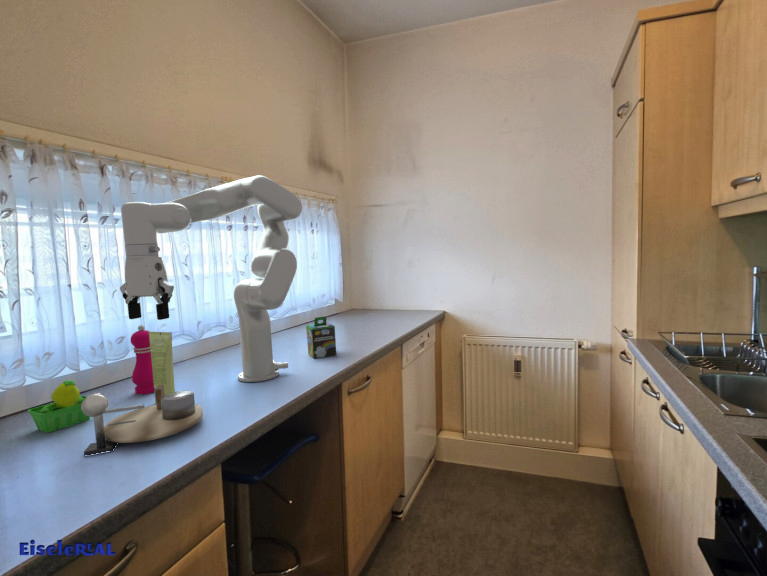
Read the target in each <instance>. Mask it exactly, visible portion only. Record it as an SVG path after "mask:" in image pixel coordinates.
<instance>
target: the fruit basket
mask: <svg viewBox="0 0 767 576" xmlns="http://www.w3.org/2000/svg"><path fill="white" fill-rule="evenodd" d="M87 397H88V396H85V395H81V394H80V389H79V388H78V387H77V386H76V383H75V381H74V380H69V379H68V380H64V381H63V382H62V383H60V384H59V385H58V386H57V387H56V388H55V389H54V390H53V391H52V393H51V400H52V401H53V402H51V403H48V404H44V405H41V406H37V407H33V408H29V409H27V411H28V414H29V415H30V416H31V418H32V421H33V422H34V424H35V426H36V428H37V430H40V431H41V432H45V433H46V434H49V433H52V432H55V431H57V430H62V429H64V428H68V427H70V426H73V425H77V424H80V423H84V422H86V421H89V420H90V419H91V417H89V416H87V415H85V414H84V413H83V412H82V410H81V404H82V402H83V401H84V400H85V399H86V398H87Z"/></svg>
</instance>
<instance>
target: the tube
mask: <svg viewBox="0 0 767 576" xmlns="http://www.w3.org/2000/svg"><path fill="white" fill-rule="evenodd" d="M149 338H150V348H151V358H152V369H153V381H154V393H153V394H154V402H155V405H157V403H156V393H155V389H156V388H157V386H158V385H162V384H164V394H165V395H166V394H169V393H173V392H176V391H175V390H176V388H175V376H174V375H175V373H174V358H173V356H174V355H173V333H172V331H150V332H149Z"/></svg>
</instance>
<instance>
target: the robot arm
mask: <svg viewBox="0 0 767 576" xmlns="http://www.w3.org/2000/svg"><path fill="white" fill-rule="evenodd" d="M253 206H257V214H258V216H259V220H260V222H261V224H262V228H263V234H262V237H261V240H260V243H259V245H258V247H257V249H256V251H255V253H254V255H253V257H252V261H251V264H250V267H251V271H252V273H253V274H254V275H255V276H256V277H259V278H247V279H246V278H245V279H243V280H241V281H239V282H238V284H236V286H235V288H234V292H233V299H234V302H235V303H234V304H235V308H236V310H237V316H238V322H239V323H238V324H239V341H240V351H241V353H240V354H241V364H242V372H240V373H238V375H237V378H238V381H241V382H243V383H244V382H245V383H258V382H264V381H268V380H272V379H275V378H276V377H278V376H279V374H280V371H279V370H280V369H281V370H282V369H289V363H288V361H287V362H284V361H279V362H276V361H275V360H274V355H273V342H272V341H273V340H272V326H271V325H272V324H271V318H270V317H271V316H270V314H269V312H268V311H273V310H275V309H279V308H280V307H281V306H282V304H284V301H285V300H286V298H287V296H288V293H289V290H290V288H291V285H292V283H293V280H294V277H295V276H296V273H297V269H298V268H297V267H298V264H297V263H298V262H297V261H298V260H297V257H296V255H295V253H294V252H293V251H291V250H290V249H288V245H289V241H290V236H289V231H288V229H287V226H286V224H285V222H288V221H293V220H296V219H298V218H299V217H300V215H301V214H302V211H303V205H302V202H301V200H300V198H299V197H298V196H297V195H296V194H295V193H294V192H292V191H290V190H289V189H287V188H286V187H285V186H282V185H280V184H279V183H278V182H276V181H274V180H273V179H270V178H268V177H266V176H264V175H261V174H258V175H255V176H254V175H253V176H250V177H244V178H241V179H236V180H234V181H231V182H227V183H223V184H220V185H216V186H213V187H210V188H206V189H202V190H201V191H198V192H195V193H193V194H190V195H187V196H184V197H179V198H177V199H174V200H170V201H167V202H162V203H149V202H144V201H134V202H133V201H132V202H131V201H130V202H124V203H123V204H122V205H121V207H120V208H121V219H122V222H121V223H122V231H123V239H124V252H125V262H124V263H125V264H124V281H125V282H124V283H123V284H122V285H121V286H119V290H120V292H121V294H122V298H123V299H124V300H125V301H124V303H125V304H126V305H127V312H128V319H129V320H135V319H141V318H142V308H141V302H139V301H140V298H144V297H145V298H146V297H147V298H148V297H149V298H150V297H151V298H152V297H153V298H154V300H155V301H156V304H155V310H156V319H157V320H159V321H161V320H167V319H169V318H170V310H169V307H170V306H169V303H170V302H171V298H172V297H173V292H174V288H175V286H174V285H173V284H171V283H170V282H169V281H168V273H167V269H166V265H165V262H164V258H163V256H161V253H160V252H161V248H160V244H159V243H160V242H159V234H166V233H176V232H181V231H183V230H185V229H187V228H188V227H189V226H190V224H193V223H197V222H201V221H202V222H203V221H208V220H209V221H210V220H215V219H219V218H222V217H225V216H227V215H230V214H233V213H235V212H238V211H241V210H243V209H246V208H251V207H253Z"/></svg>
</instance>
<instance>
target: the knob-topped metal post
mask: <svg viewBox="0 0 767 576" xmlns="http://www.w3.org/2000/svg"><path fill="white" fill-rule="evenodd" d="M86 397H87V398H86V399H85V400H84V401H83V402H82V404H81V410H82V412H83V413H84V414H85V415H87V416H89V417H90V418H93V425H94V434H95V442H93V443H92V442H91V443H90V444H89V445H88V446H87V447H86V449H84V451H83V455H84V456H85V455H91V454H96V453H101V452H106V451H113V449H114V448H115V446H116V445H117V443H118V442H112V441H109V440H106V438H105V431H104V427H105V423H104V415H103V414H111V413H118V412H126V411H127V412H128V411H133V410H137V409H141V408H144V407H145V404H137V405H131V406H130V405H129V406H124V407H123V406H122V407H115V408H110V409H109V408H108V406H109V400H108V398H107V397H106V396H105V395H103V394H101V392H93V393H92V394H89V395H88V396H86ZM118 444H119V443H118ZM117 446H118V445H117ZM117 446H116V447H117ZM115 449H116V448H115ZM115 449H114V450H115ZM113 452H114V451H113ZM91 456H92V455H91ZM85 457H86V456H85Z"/></svg>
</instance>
